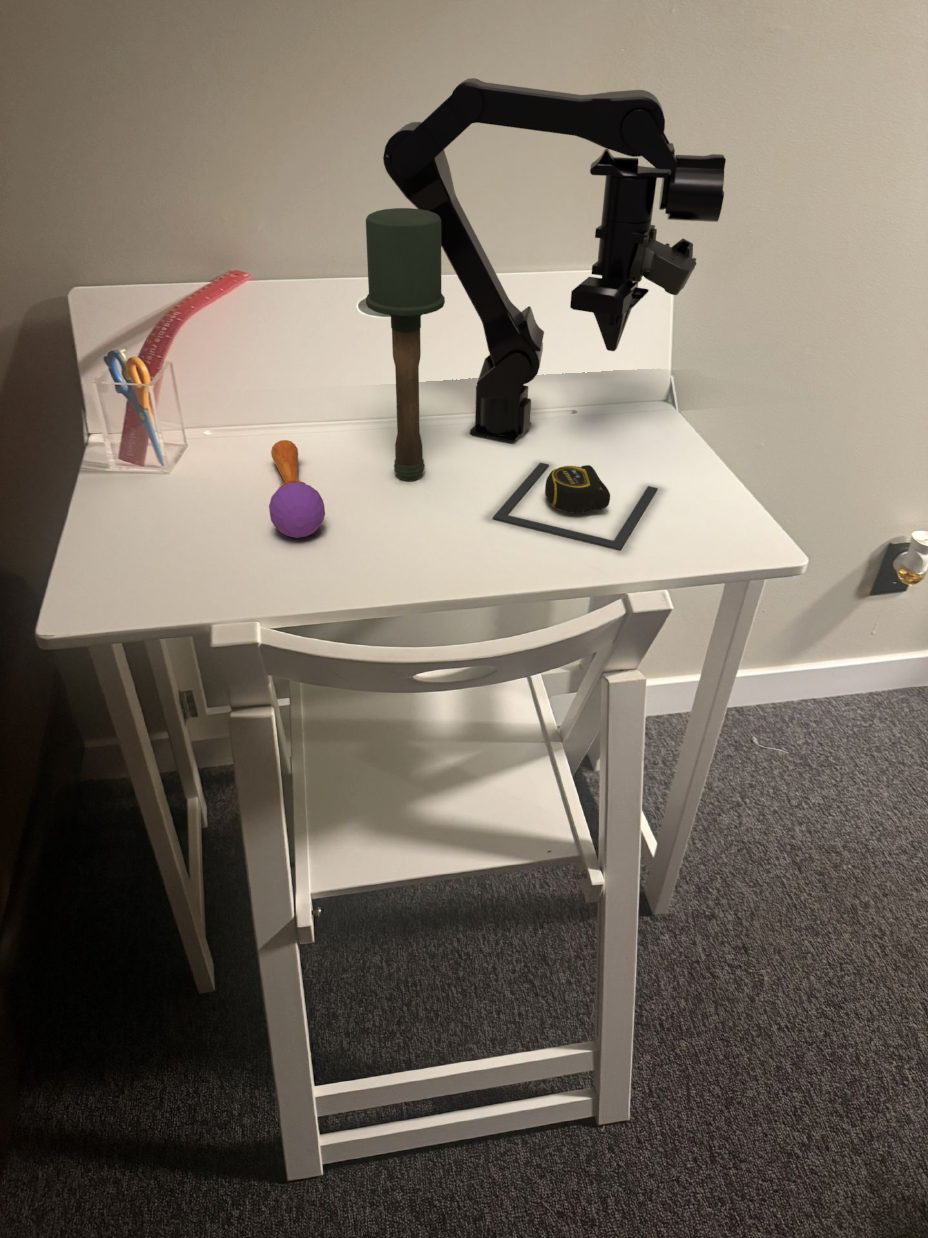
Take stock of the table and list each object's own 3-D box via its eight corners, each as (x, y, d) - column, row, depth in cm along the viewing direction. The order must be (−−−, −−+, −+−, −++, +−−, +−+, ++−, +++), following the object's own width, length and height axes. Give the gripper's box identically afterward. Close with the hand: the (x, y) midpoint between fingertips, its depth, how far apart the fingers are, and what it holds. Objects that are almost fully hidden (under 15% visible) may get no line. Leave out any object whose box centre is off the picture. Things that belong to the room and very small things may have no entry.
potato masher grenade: (447, 461, 114) (448, 207, 96) (439, 494, 107) (439, 227, 89) (381, 457, 115) (370, 204, 97) (369, 490, 108) (354, 224, 90)
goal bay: (492, 519, 103) (492, 517, 103) (540, 464, 114) (540, 462, 114) (620, 550, 98) (621, 548, 98) (657, 490, 109) (657, 487, 109)
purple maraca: (311, 431, 112) (330, 497, 95) (306, 476, 114) (324, 548, 98) (261, 427, 110) (273, 493, 93) (258, 473, 113) (269, 545, 96)
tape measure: (609, 517, 104) (613, 488, 102) (552, 521, 103) (554, 492, 100) (592, 488, 109) (596, 460, 107) (537, 492, 108) (540, 464, 106)
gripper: (675, 245, 95) (654, 387, 104) (713, 208, 108) (692, 337, 118) (574, 232, 98) (563, 370, 108) (624, 198, 112) (610, 324, 121)
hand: (611, 349), depth 113 cm, fingers closed
